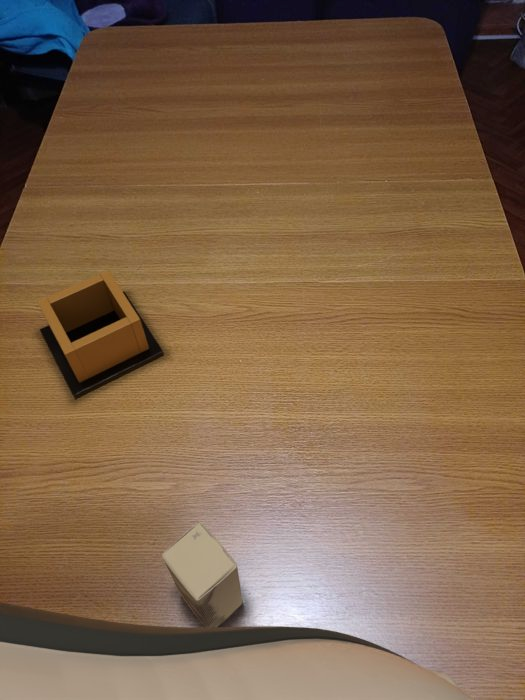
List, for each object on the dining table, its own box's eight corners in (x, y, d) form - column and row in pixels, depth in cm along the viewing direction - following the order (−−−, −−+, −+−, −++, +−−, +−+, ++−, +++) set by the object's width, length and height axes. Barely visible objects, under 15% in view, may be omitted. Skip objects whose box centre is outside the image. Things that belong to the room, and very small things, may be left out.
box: (178, 593, 60) (155, 552, 50) (213, 563, 62) (198, 516, 52) (212, 637, 58) (196, 603, 48) (247, 604, 60) (239, 564, 49)
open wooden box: (75, 399, 74) (58, 367, 69) (41, 333, 80) (23, 299, 75) (164, 355, 77) (154, 321, 72) (125, 294, 84) (113, 259, 78)
